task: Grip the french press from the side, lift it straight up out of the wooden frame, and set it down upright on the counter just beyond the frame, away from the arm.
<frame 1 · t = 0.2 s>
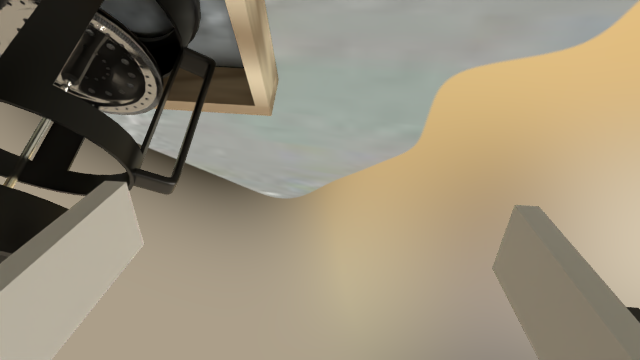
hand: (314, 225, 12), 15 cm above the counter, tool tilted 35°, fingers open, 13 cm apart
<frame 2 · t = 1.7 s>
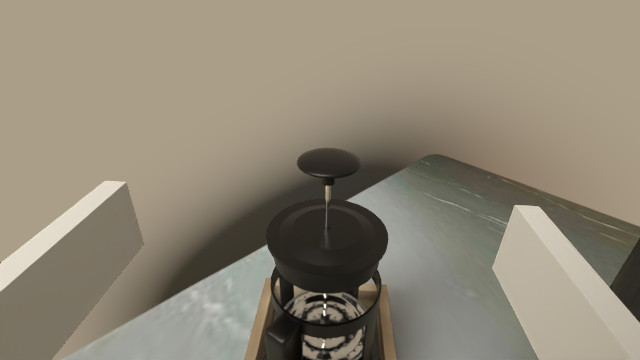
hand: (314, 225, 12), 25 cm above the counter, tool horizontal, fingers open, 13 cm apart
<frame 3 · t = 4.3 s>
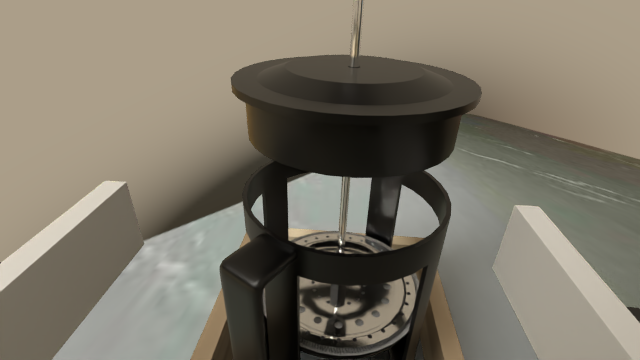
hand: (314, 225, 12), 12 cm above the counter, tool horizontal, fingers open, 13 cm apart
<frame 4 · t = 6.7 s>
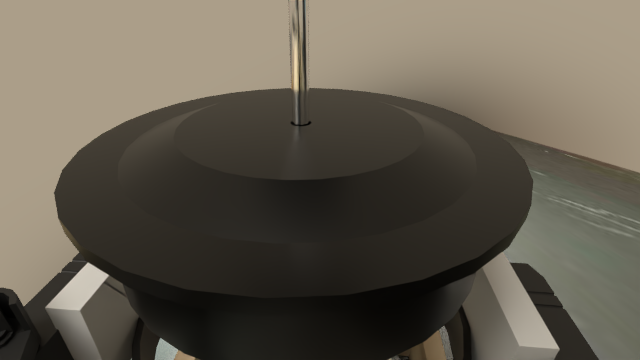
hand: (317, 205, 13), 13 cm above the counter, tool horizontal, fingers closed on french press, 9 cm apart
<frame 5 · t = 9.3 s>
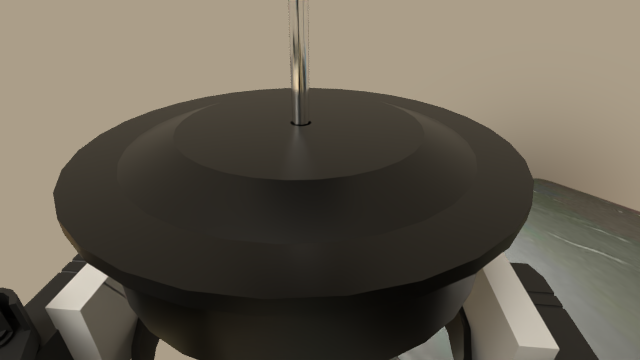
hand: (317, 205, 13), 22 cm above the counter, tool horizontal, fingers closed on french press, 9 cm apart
when the fingers open (13 cm above the counter, at t = 12.2 s): french press drops 1 cm, on the counter.
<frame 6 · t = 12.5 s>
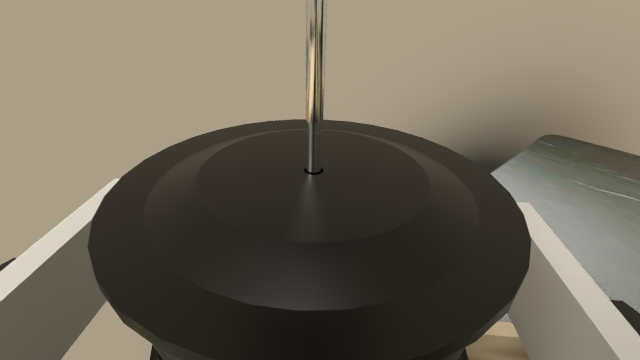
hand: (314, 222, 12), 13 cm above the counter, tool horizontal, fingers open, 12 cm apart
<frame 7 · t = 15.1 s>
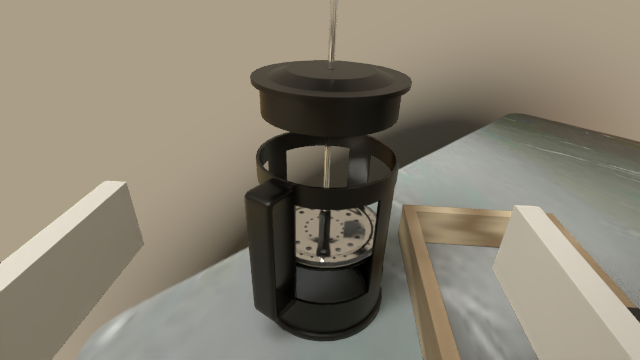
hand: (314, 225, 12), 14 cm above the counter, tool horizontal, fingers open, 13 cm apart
wooden frame: (500, 306, 27), on the counter
french press: (318, 295, 27), on the counter
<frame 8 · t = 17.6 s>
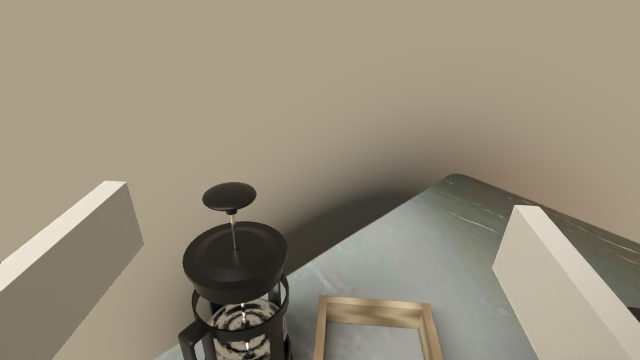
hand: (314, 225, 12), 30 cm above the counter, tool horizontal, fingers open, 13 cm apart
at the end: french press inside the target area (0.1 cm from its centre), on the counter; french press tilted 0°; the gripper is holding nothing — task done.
